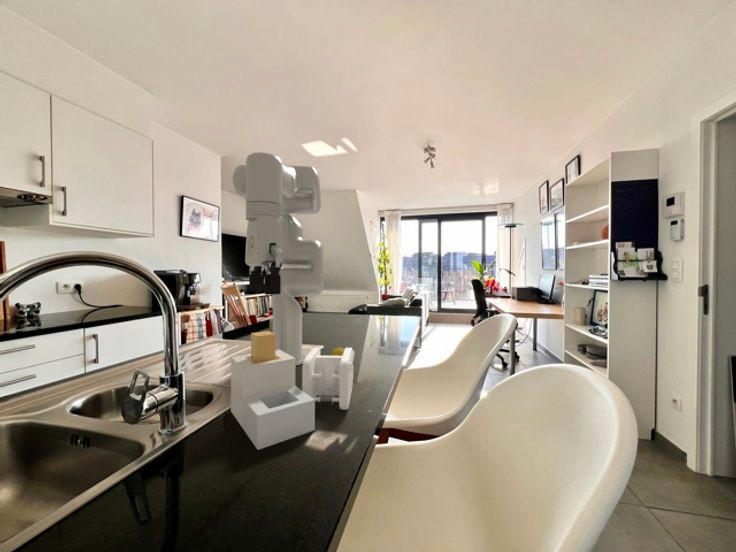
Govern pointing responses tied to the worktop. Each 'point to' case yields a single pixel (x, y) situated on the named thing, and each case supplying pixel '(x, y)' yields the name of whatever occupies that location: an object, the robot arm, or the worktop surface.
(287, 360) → the stepped foam insert
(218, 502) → the worktop surface
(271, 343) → the plug
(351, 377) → the cable organizer
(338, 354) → the lemon
